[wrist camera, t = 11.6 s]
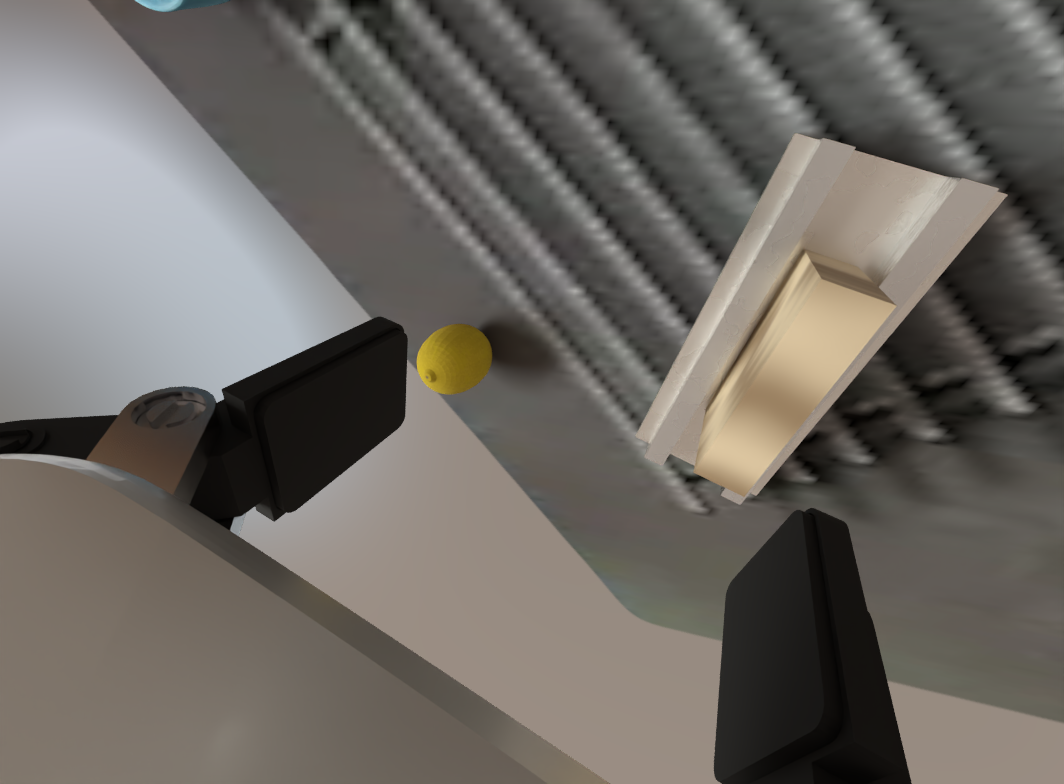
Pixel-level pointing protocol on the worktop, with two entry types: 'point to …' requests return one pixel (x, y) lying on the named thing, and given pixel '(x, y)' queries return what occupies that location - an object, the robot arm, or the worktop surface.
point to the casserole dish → (178, 4)
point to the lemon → (454, 359)
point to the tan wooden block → (788, 367)
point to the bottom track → (828, 229)
